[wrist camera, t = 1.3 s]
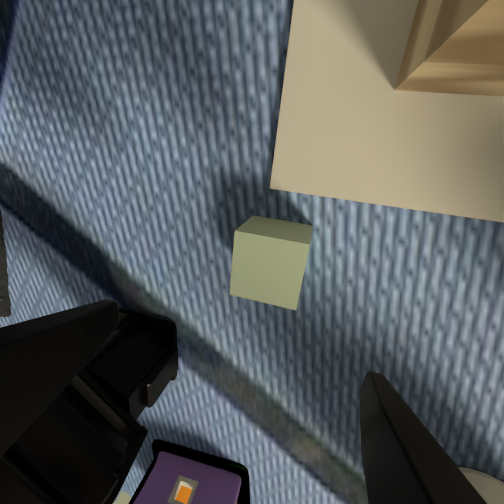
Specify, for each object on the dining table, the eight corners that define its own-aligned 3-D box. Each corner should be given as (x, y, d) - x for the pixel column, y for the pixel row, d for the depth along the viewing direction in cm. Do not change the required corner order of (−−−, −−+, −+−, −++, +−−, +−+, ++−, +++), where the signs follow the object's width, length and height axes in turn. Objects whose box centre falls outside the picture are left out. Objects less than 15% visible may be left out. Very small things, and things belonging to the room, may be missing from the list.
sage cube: (247, 267, 19) (229, 294, 15) (253, 214, 17) (234, 230, 13) (301, 279, 18) (296, 310, 14) (312, 225, 16) (309, 244, 13)
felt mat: (271, 187, 16) (269, 188, 15) (325, -223, 10) (325, -246, 9) (578, 231, 13) (589, 235, 12) (936, -338, 7) (991, -382, 6)
